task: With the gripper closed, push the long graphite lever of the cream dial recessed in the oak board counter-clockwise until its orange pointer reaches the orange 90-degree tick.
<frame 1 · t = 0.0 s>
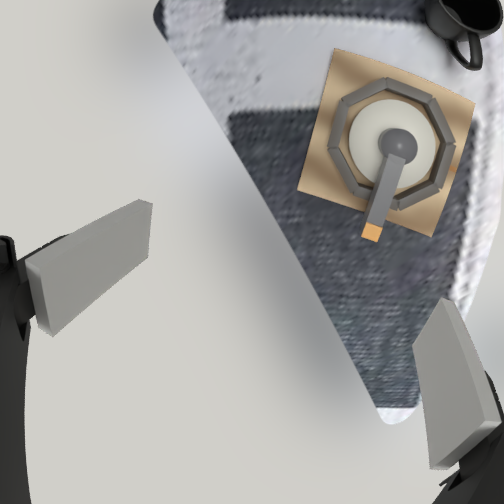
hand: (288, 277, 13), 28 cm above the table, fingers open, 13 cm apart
dial board: (388, 141, 34), on the table
dial: (389, 166, 30), point 5 cm above the table, hinge at 0.0°
mug: (445, 34, 26), on the table
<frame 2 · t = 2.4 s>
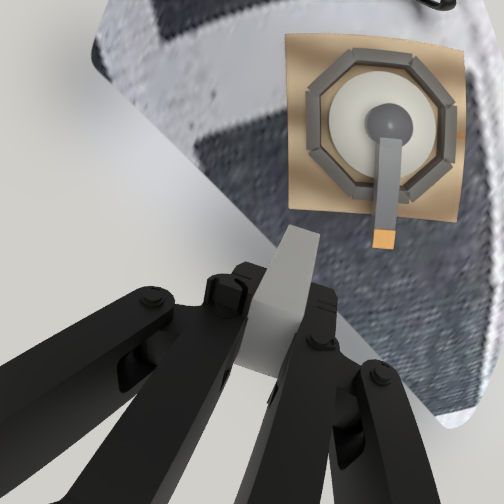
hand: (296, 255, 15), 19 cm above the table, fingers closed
dial board: (378, 124, 28), on the table
dial: (385, 153, 24), point 5 cm above the table, hinge at 0.0°
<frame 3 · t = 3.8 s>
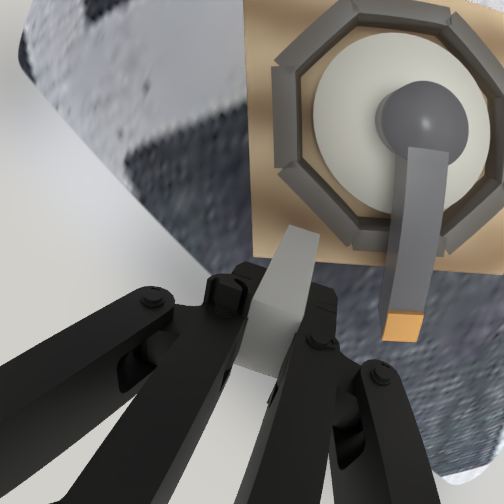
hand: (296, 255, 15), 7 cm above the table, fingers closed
dial board: (395, 122, 17), on the table
dial: (412, 174, 13), point 5 cm above the table, hinge at 0.0°
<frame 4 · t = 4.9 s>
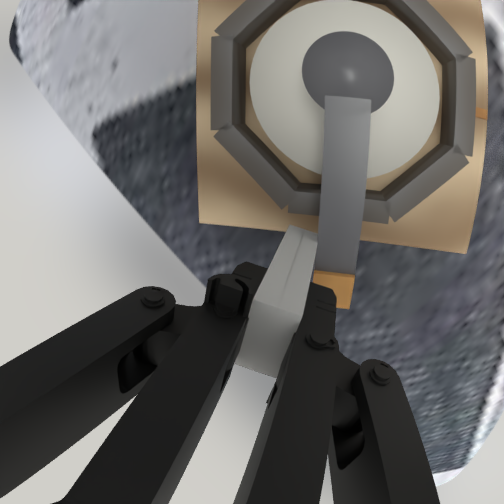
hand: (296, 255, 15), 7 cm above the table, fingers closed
dial board: (344, 91, 17), on the table
dial: (345, 132, 14), point 5 cm above the table, hinge at 0.3°, touching gripper
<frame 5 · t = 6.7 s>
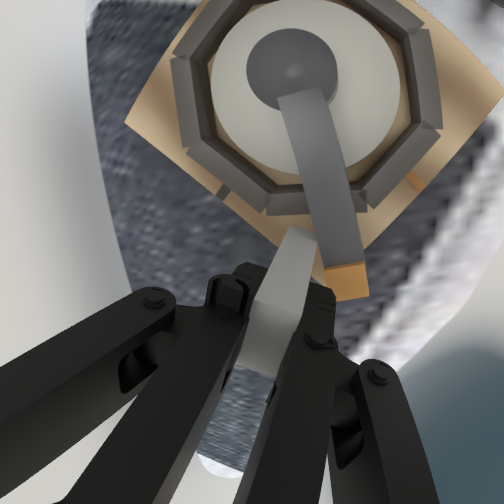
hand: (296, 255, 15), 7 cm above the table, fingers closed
dial board: (310, 89, 18), on the table
dial: (315, 126, 14), point 5 cm above the table, hinge at 54.7°, touching gripper
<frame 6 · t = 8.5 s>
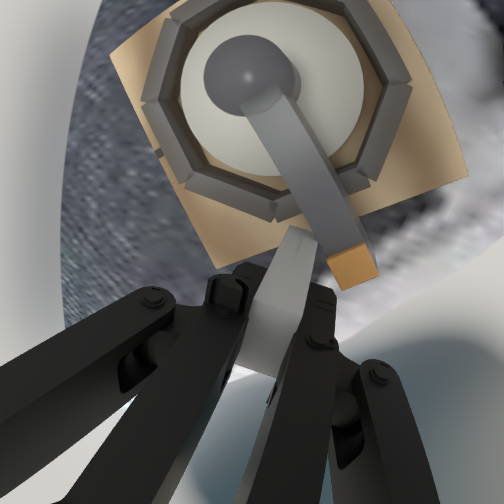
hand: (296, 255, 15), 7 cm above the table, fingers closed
dial board: (280, 91, 18), on the table
dial: (287, 124, 14), point 5 cm above the table, hinge at 94.6°, touching gripper
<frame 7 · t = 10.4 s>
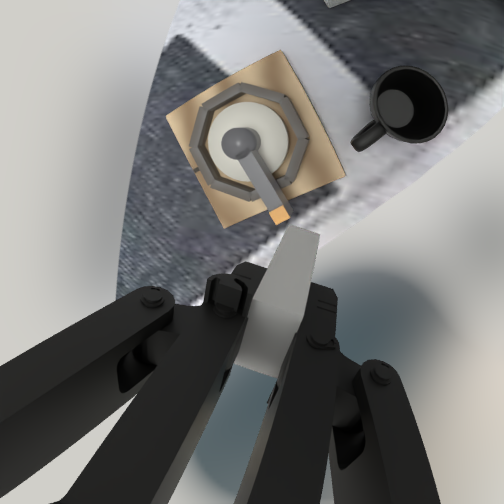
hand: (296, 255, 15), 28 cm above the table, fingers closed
dial board: (254, 140, 40), on the table
dial: (254, 160, 36), point 5 cm above the table, hinge at 94.6°
mug: (383, 116, 35), on the table
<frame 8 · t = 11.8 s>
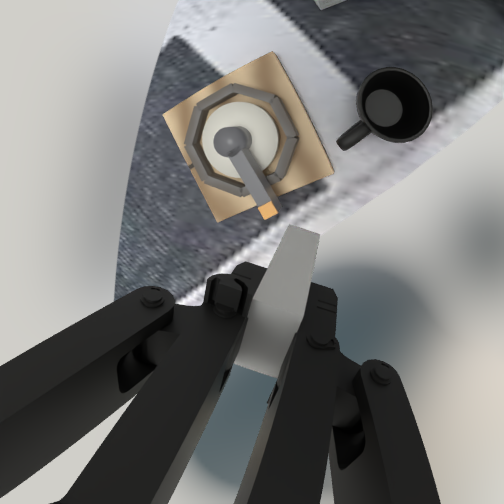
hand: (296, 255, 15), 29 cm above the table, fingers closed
dial board: (247, 138, 42), on the table
dial: (245, 157, 38), point 5 cm above the table, hinge at 94.6°
mug: (372, 115, 37), on the table
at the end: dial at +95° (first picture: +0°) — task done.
